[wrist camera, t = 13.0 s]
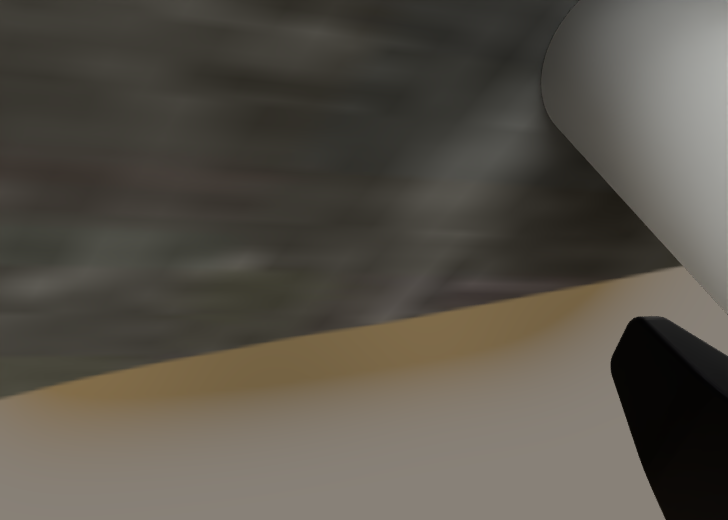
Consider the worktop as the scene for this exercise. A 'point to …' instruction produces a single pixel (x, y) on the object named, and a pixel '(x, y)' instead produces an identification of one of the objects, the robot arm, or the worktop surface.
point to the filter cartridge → (652, 117)
